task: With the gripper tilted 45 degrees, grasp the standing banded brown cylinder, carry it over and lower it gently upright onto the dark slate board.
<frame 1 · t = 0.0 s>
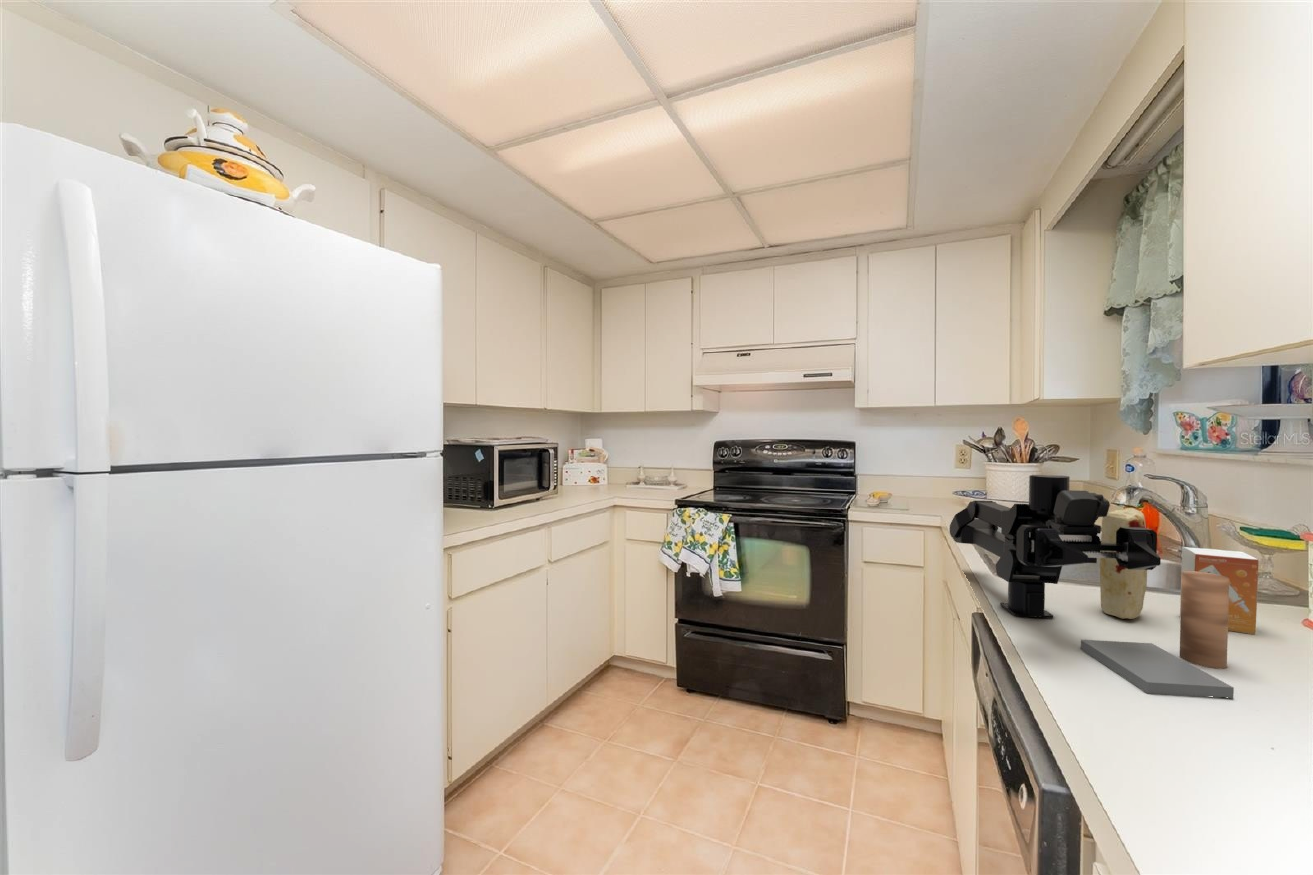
hand: (1122, 560, 76), 17 cm above the table, tool horizontal, fingers open, 9 cm apart
banded brown cylinder: (1202, 660, 81), on the table
food model: (1122, 615, 100), on the table
slate board: (1149, 671, 77), on the table
small box: (1216, 625, 95), on the table
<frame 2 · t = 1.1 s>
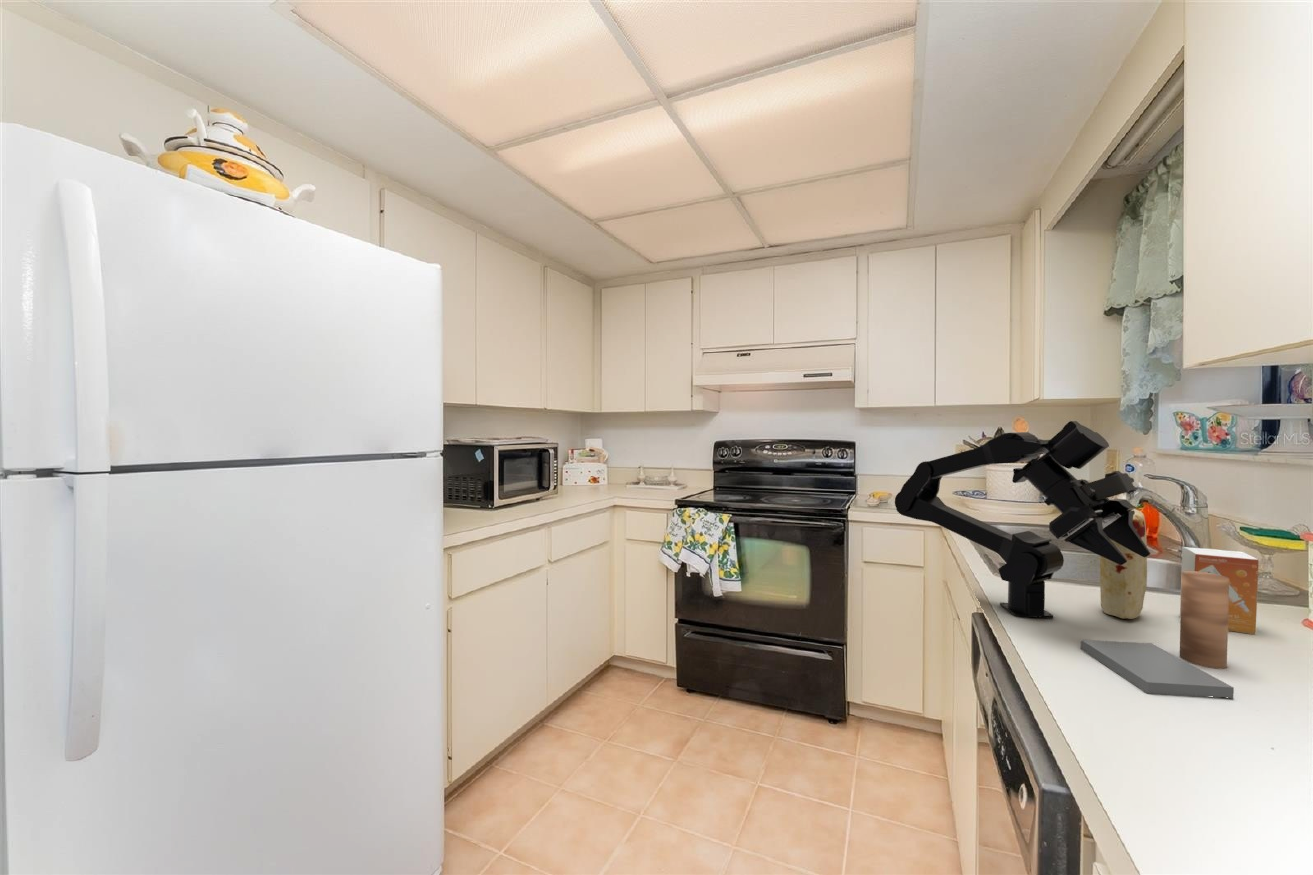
hand: (1136, 559, 87), 14 cm above the table, tool tilted 45°, fingers open, 9 cm apart
nothing on the table moved.
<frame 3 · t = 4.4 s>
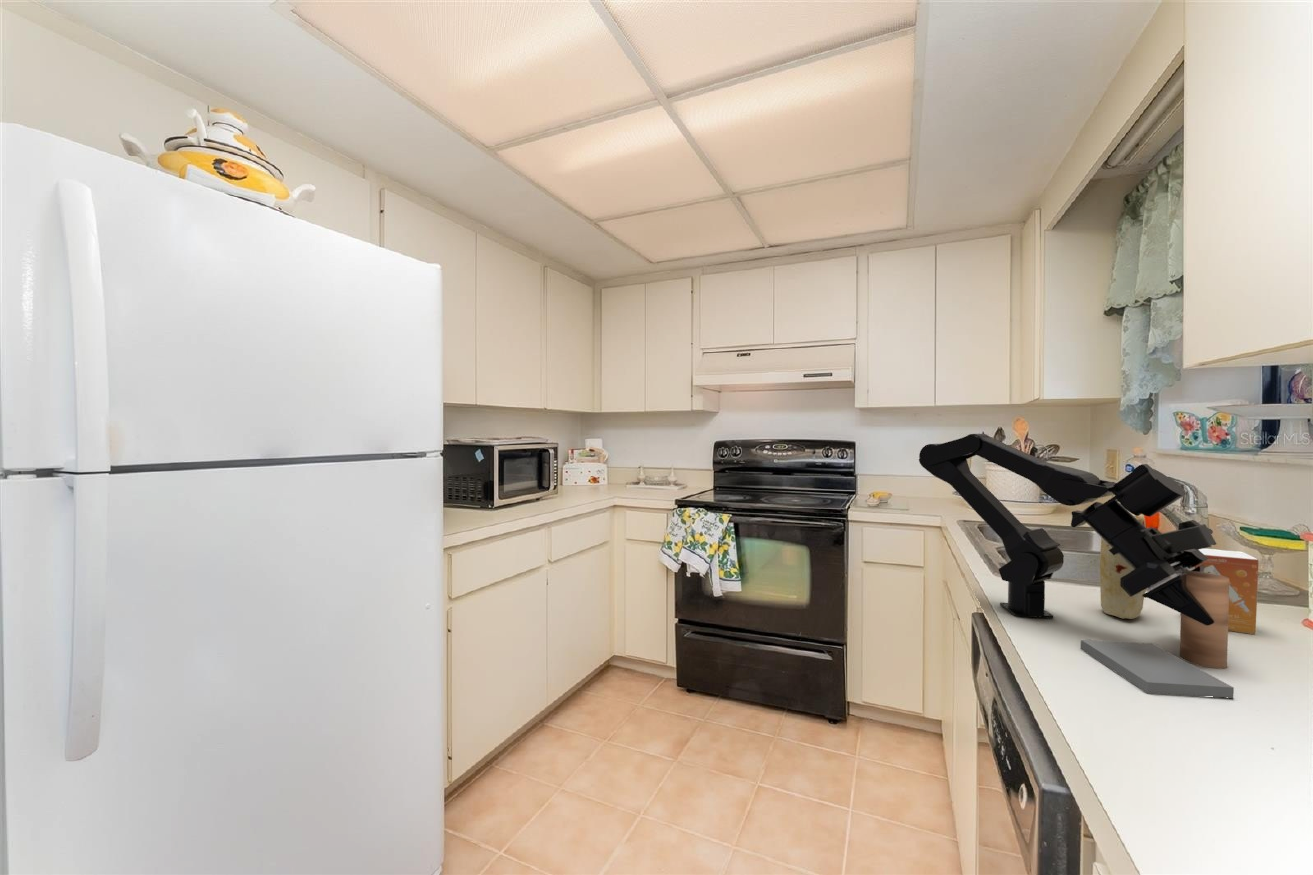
hand: (1217, 620, 79), 7 cm above the table, tool tilted 45°, fingers closed on banded brown cylinder, 5 cm apart
banded brown cylinder: (1202, 660, 81), on the table, touching gripper
everything else where it was.
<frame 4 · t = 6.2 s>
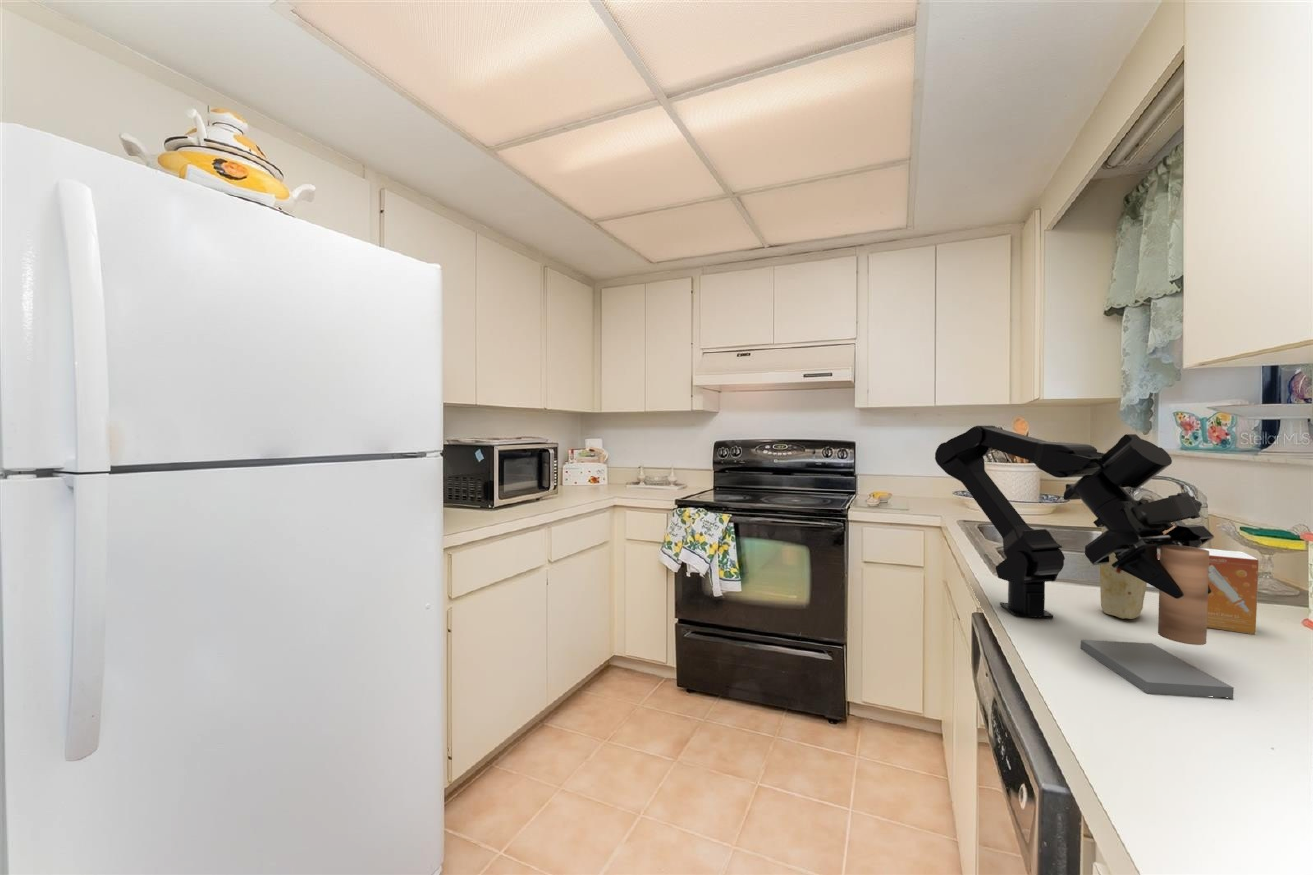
hand: (1194, 595, 76), 11 cm above the table, tool tilted 45°, fingers closed on banded brown cylinder, 5 cm apart
banded brown cylinder: (1181, 637, 77), point 5 cm above the table, touching gripper
everything else where it was.
when the fingers open (9 cm above the table, at t = 7.9 s): banded brown cylinder stays where it is, resting on slate board.
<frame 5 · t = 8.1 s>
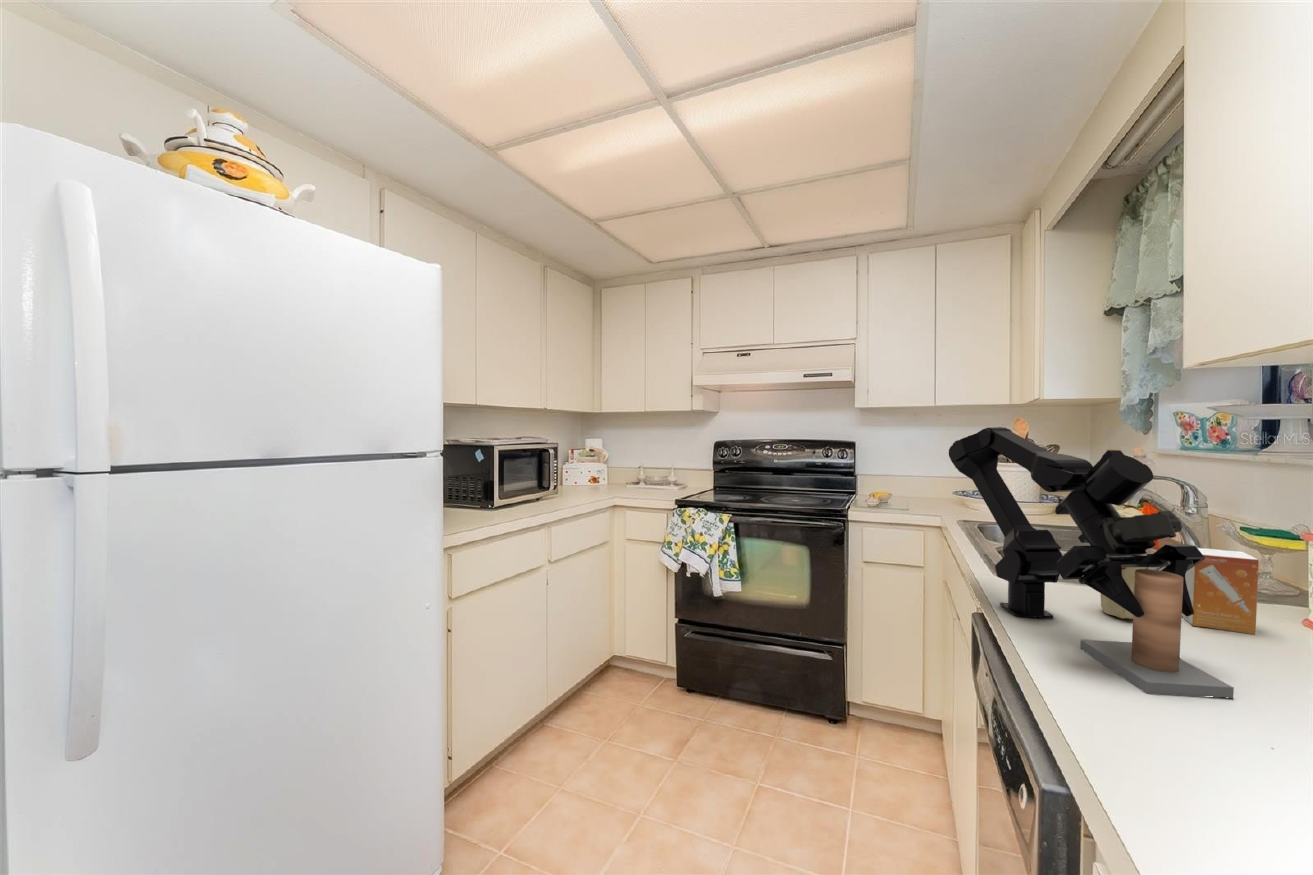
hand: (1166, 615, 75), 9 cm above the table, tool tilted 45°, fingers open, 7 cm apart
banded brown cylinder: (1154, 663, 76), point 2 cm above the table, touching slate board
everything else where it was.
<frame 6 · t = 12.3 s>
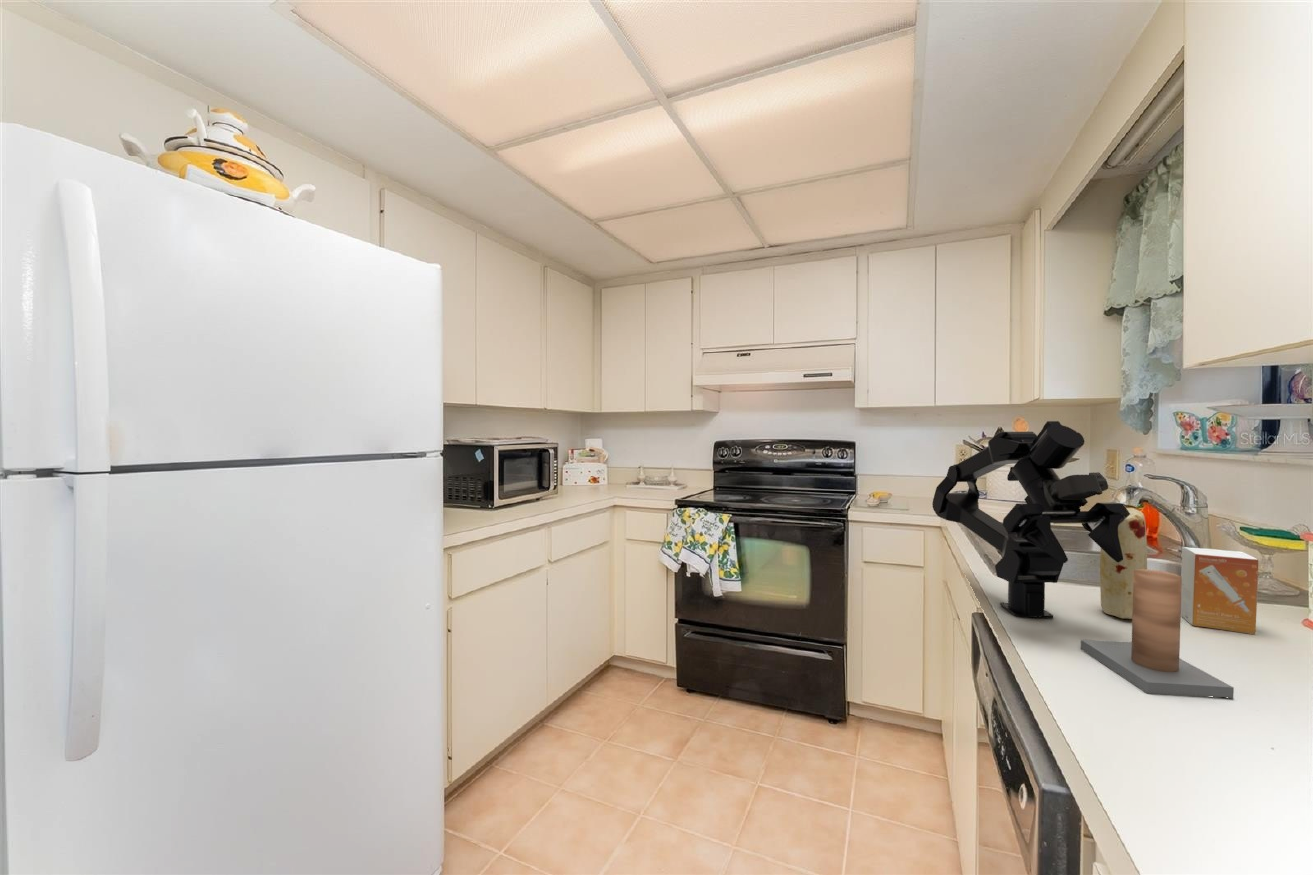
hand: (1093, 561, 86), 14 cm above the table, tool tilted 45°, fingers open, 9 cm apart
nothing on the table moved.
at the end: banded brown cylinder inside the target area on the slate board (0.4 cm from its centre), point 1.5 cm above the slate board's base; banded brown cylinder tilted 1°; the gripper is holding nothing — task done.
